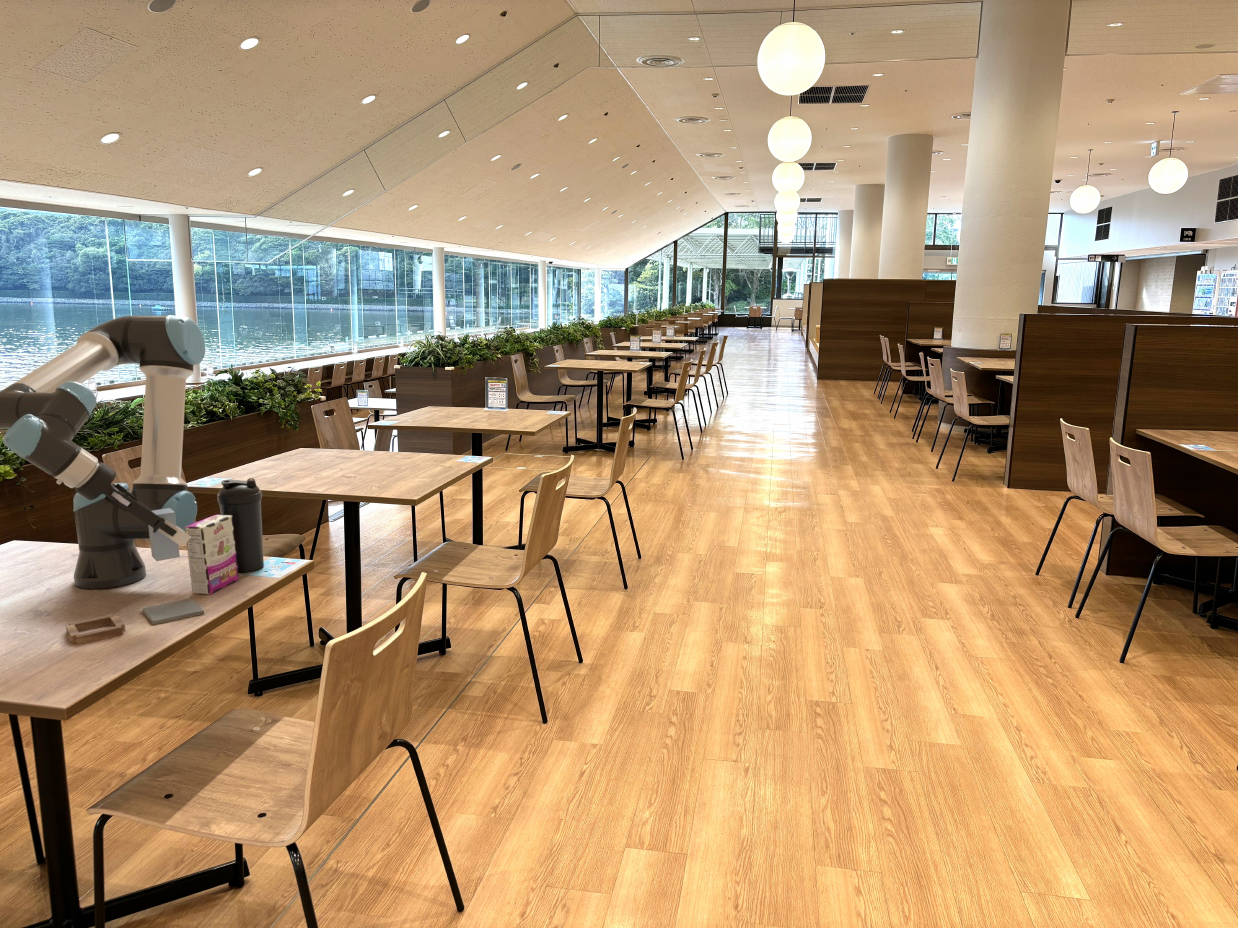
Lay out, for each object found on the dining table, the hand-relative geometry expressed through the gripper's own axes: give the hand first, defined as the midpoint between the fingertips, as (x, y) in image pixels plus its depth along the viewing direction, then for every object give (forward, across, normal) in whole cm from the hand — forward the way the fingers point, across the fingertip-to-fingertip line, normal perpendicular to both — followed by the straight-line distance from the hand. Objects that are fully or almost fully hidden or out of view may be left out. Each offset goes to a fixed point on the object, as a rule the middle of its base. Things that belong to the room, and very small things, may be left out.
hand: (183, 538), depth 187 cm
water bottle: (+25, -22, +1) cm, 33 cm away
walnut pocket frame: (-2, +2, -24) cm, 25 cm away
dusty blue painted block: (0, 0, -5) cm, 5 cm away
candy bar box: (+18, -12, -6) cm, 22 cm away
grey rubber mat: (+9, 0, -14) cm, 17 cm away
